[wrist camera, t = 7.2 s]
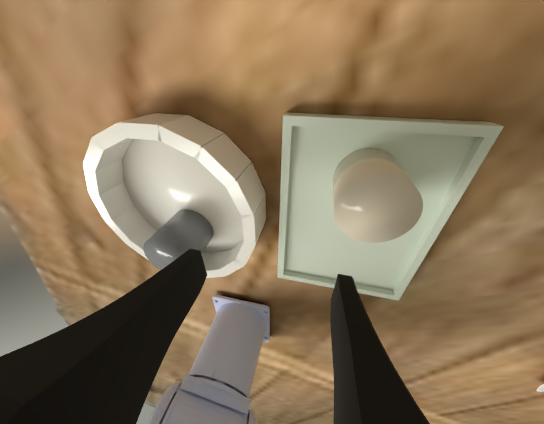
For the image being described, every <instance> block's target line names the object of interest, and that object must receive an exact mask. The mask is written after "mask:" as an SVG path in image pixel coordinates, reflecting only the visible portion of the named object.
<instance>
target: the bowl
mask: <svg viewBox="0 0 544 424" xmlns="http://www.w3.org/2000/svg"><path fill="white" fill-rule="evenodd" d="M250 162H251V160H250V159H249V158H248V157H247V156H246V155H245V154H244V153H243V152H242V151H241V150H240V149H239V148H238V147H237V146H236V145H235V144H234V143H233V142H232V140H231V139H230V138H229V137H228V136H227V135H226V134H225V133H224V134H223V132H221V131H219V130H217V129H215V128H213V127H211V126H209V125H208V124H206V123H204V122H202V121H200V120H198V119H196V118H194V117H192V116H190V115H180V114H161V113H153V114H149V115H145V116H141V117H138V118H134V119H130V120H126V121H122V122H118V123H116V124H114V125H112V126H111V127H109V128H107V129H106V130H104V131H102V132H100V133H99V134H97V135H95V136H93V137H92V138H91V141H90V144H89V147H88V150H87V152H86V155H85V158H84V161H83V168H84V173H85V178H86V184H87V189H88V192H89V195H90V197H91V198H92V200H93V202H94V204H95V206H96V207H97V209H98V211H99V213H100V214H101V216H102V218H103V220H104V221H105V222H106V223H107V224H108V225H109V226H110V227H111V228H112V230H113V231H114V232H115V233H116V234H117V235H118V236H119V237H120V238H121V239H122V240H123V241H124V243H126V244H127V245H128V246H130V247H131V248H132V249H134V250H135V251H137V252H138V253H139V254H141V255H142V256H143V257H145V258H146V259H147V257H146V255H145V253H144V250H143V245H144V243H145V242H146V241H147V240H148V239H149V238H150V237H151V236H152V235H153V234H154V233H156V232H157V231H158V230H159V229H160V228H161V227H162V226H163V225H164V224H165V223H166V222H167V221H168V220H169V219H170V218H171V217H173V216H174V215H175V214H176V213H177V212H178V211H180V210H184V209H187V210H193V211H196V212H198V213H200V214H201V215H203V216H204V217H205V218H206V219H207V220H208V221H209V222H210V224H211V226H212V228H213V232H214V234H213V238H212V239H211V241H210V242H209V244H208V245H207V247H206V248H205V249H204V251H203V252H202V254H201V255H202V258H203V262H204V265H205V269H206V272H207V277H206V278H214V277H225V276H227V275H229V274H231V273H233V272H234V271H236V270H238V269H240V268H241V267H243V266H245V264H246V262H247V260H248V259H249V257H250V255H251V253H252V251H253V249H254V248H255V246H256V243H257V241H258V239H259V236H260V234H261V231H262V229H263V227H264V224H265V222H266V192H265V190H264V188H263V186H262V183H261V181H260V179H259V177H258V174H257V172H256V170H255V168H254V165H253V163H252V162H251V163H250Z"/></svg>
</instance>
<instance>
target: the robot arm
mask: <svg viewBox="0 0 544 424" xmlns="http://www.w3.org/2000/svg"><path fill="white" fill-rule="evenodd" d="M206 277H207V272H206V269H205V265H204V262H203V258H202V255H201V251H200V250H196V249H189V250H187V251H186V252H185V253H183V254H182V255H181V256H179V257H178V258H177V259H175V260H174V261H173V262H171V263H170V264H169V265H167V266H166V267H165V268H163V269H162V270H161V271H159V272H158V273H156V274H155V275H154V276H152V277H151V278H149V279H148V280H146V281H145V282H144V283H142V284H141V285H139V286H138V287H136V288H135V289H133V290H132V291H130V292H129V293H127V294H126V295H124V296H122V297H121V298H119V299H118V300H116V301H114V302H112V303H111V304H109V305H107V306H106V307H104V308H102V309H100V310H99V311H97V312H95V313H93V314H91V315H89V316H87V317H85V318H84V319H82V320H80V321H78V322H76V323H74V324H72V325H70V326H68V327H66V328H64V329H62V330H60V331H58V332H56V333H54V334H51V335H49V336H47V337H45V338H43V339H41V340H39V341H36V342H34V343H32V344H29V345H27V346H25V347H22V348H20V349H18V350H15V351H13V352H10V353H8V354H6V355H3V356H1V357H0V424H136V422H137V420H138V417H139V414H140V412H141V409H142V407H143V404H144V402H145V400H146V397H147V395H148V392H149V390H150V388H151V385H152V383H153V380H154V378H155V376H156V374H157V372H158V369H159V367H160V365H161V363H162V360H163V358H164V356H165V354H166V352H167V350H168V348H169V346H170V344H171V342H172V340H173V338H174V336H175V334H176V332H177V331H178V329H179V327H180V326H181V324H182V322H183V320H184V319H185V317H186V315H187V314H188V312H189V310H190V309H191V307H192V305H193V303H194V302H195V300H196V298H197V297H198V295H199V293H200V291H201V289H202V286H203V284H204V282H205V279H206ZM213 302H214V306H215V309H216V313H217V314H216V316H215V318H214V320H213V322H212V325H211V327H210V329H209V331H208V333H207V335H206V338H205V340H204V342H203V344H202V346H201V348H200V351H199V353H198V355H197V357H196V359H195V361H194V364H193V366H192V368H191V370H190V372H189V374H188V375H187V374H186V375H185V377H184V379H183V381H182V382H180V381H176V382H175V383H174V384H172V385H170V386H169V387H168V388H167V389H166V391H165V392H164V394H163V395H162V397H161V399H160V400H159V402H158V404H157V406H156V408H155V410H154V411H153V413H152V415H151V417H150V419H149V421H148V424H257V421H256V417H255V414H254V411H253V410H252V409H249V408H250V403H251V399H249V394H250V390H251V386H252V383H253V379H254V375H255V370H256V366H257V362H258V358H259V354H260V350H261V346H262V342H269V341H270V308H269V307H268V306H266V305H262V304H257V303H253V302H248V301H243V300H239V299H234V298H230V297H225V296H220V295H213ZM330 321H331V337H332V353H333V368H334V424H430V423H429V422H428V420H427V419H426V417H425V416H424V414H423V413H422V411H421V410H420V408H419V407H418V405H417V404H416V402H415V401H414V399H413V397H412V396H411V394H410V392H409V391H408V389H407V388H406V386H405V384H404V383H403V381H402V379H401V378H400V376H399V374H398V373H397V371H396V369H395V367H394V366H393V364H392V362H391V360H390V359H389V357H388V355H387V353H386V351H385V349H384V347H383V345H382V344H381V342H380V340H379V338H378V336H377V334H376V332H375V330H374V328H373V326H372V323H371V321H370V319H369V317H368V315H367V313H366V310H365V308H364V306H363V303H362V301H361V298H360V296H359V293H358V291H357V288H356V285H355V282H354V279H353V277H352V276H348V275H342V274H338V275H337V279H336V283H335V287H334V291H333V294H332V298H331V320H330Z"/></svg>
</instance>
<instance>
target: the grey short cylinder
mask: <svg viewBox="0 0 544 424" xmlns="http://www.w3.org/2000/svg"><path fill="white" fill-rule="evenodd" d="M213 234H214V232H213V228H212V226H211V224H210V222H209V221H208V220H207V219H206V218H205V217H204V216H203V215H201V214H200V213H198V212H196V211H193V210H187V209H184V210H180V211H178V212H177V213H176V214H175V215H174V216H173V217H171V218H170V219H169V220H168V221H167V222H166V223H165V224H164V225H163V226H162V227H161V228H160V229H159V230H158V231H157V232H156V233H154V234H153V235H152V236H151V237H150V238H149V239H148V240H147V241H146V242H145V243H144V245H143V250H144V253H145V255H146V257H147V259H148V260H149V261H150V262H151V263H152V264H153V265H154V266H156V267H157V268H158V269H160V270H162V269H163V268H165V267H166V266H167V265H169V264H170V263H171V262H173V261H174V260H175V259H177V258H178V257H179V256H181V255H182V254H183V253H185V252H186V251H187V250H189V249H196V250H200V251H201V254H202V252H203V251H204V249H205V248H206V247H207V245H208V244H209V242H210V241H211V239H212V238H213Z"/></svg>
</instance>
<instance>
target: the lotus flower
mask: <svg viewBox="0 0 544 424" xmlns="http://www.w3.org/2000/svg"><path fill="white" fill-rule="evenodd" d="M537 391H538V392H544V384H543V385H541V386H540V387H539V388H538V389H537Z"/></svg>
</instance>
